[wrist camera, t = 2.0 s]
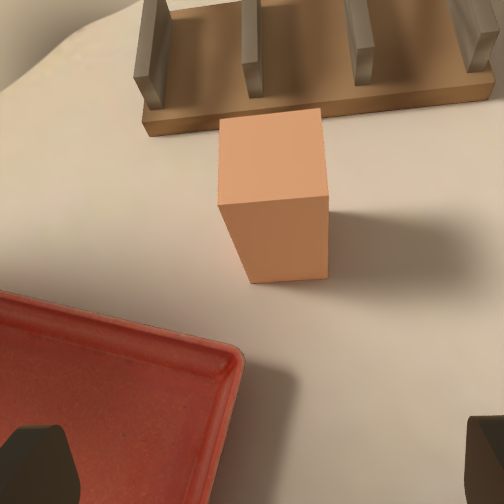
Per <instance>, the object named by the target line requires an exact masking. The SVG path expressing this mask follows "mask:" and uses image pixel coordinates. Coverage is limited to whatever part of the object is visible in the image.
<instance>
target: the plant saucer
mask: <svg viewBox="0 0 504 504" xmlns="http://www.w3.org/2000/svg"><path fill="white" fill-rule="evenodd" d="M244 368H245V357H244V354H243V353H242V352H241V351H240V349H239V348H238V347H235V346H233V345H230V344H226V343H222V342H217V341H213V340H208V339H204V338H199V337H195V336H192V335H187V334H183V333H178V332H174V331H170V330H166V329H161V328H157V327H153V326H150V325H144V324H140V323H136V322H131V321H127V320H123V319H119V318H115V317H110V316H106V315H102V314H99V313H94V312H89V311H85V310H82V309H76V308H73V307H69V306H64V305H59V304H56V303H52V302H48V301H43V300H39V299H35V298H31V297H27V296H23V295H17V294H14V293H11V292H6V291H1V290H0V448H1V446H2V445H3V444H4V443H5V442H6V440H7V439H8V438H9V437H10V436H11V434H12V433H13V432H14V431H15V430H16V429H17V428H19V427H20V426H24V425H60V426H61V427H62V428H63V430H64V432H65V434H66V437H67V441H68V444H69V447H70V450H71V453H72V457H73V460H74V463H75V466H76V469H77V473H78V476H79V479H80V485H81V493H80V501H79V504H208V503H209V498H210V495H211V491H212V488H213V484H214V480H215V476H216V472H217V469H218V465H219V461H220V457H221V454H222V450H223V446H224V443H225V439H226V435H227V431H228V427H229V424H230V420H231V416H232V412H233V409H234V405H235V401H236V398H237V394H238V390H239V387H240V383H241V379H242V375H243V371H244Z"/></svg>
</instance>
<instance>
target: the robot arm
mask: <svg viewBox="0 0 504 504" xmlns="http://www.w3.org/2000/svg"><path fill="white" fill-rule="evenodd" d="M464 487H465V495H466V500H467V504H504V415H495V416H470V417H469V419H468V422H467V436H466V454H465V472H464ZM80 493H81V485H80V479H79V476H78V473H77V469H76V466H75V463H74V460H73V457H72V453H71V450H70V447H69V444H68V441H67V437H66V434H65V432H64V430H63V428H62V427H61V426H60V425H24V426H20V427H19V428H17V429H16V430H15V431H14V432H13V433H12V434H11V436H10V437H9V438H8V439H7V440H6V442H5V443H4V444H3V445H2V446H1V448H0V504H79V501H80Z"/></svg>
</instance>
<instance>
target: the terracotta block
mask: <svg viewBox="0 0 504 504" xmlns="http://www.w3.org/2000/svg"><path fill="white" fill-rule="evenodd" d="M218 207H219V210H220V212H221V215H222V217H223V219H224V222H225V224H226V226H227V229H228V231H229V233H230V236H231V238H232V241H233V243H234V245H235V248H236V250H237V252H238V255H239V257H240V259H241V262H242V264H243V267H244V269H245V271H246V274H247V276H248V278H249V281H250V283H265V282H281V281H297V280H312V279H328V225H329V193H328V182H327V172H326V161H325V151H324V141H323V130H322V120H321V109H320V108H315V109H306V110H298V111H289V112H280V113H271V114H262V115H253V116H244V117H235V118H226V119H220V130H219V168H218Z"/></svg>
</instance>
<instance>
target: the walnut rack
mask: <svg viewBox="0 0 504 504" xmlns="http://www.w3.org/2000/svg"><path fill="white" fill-rule="evenodd" d="M499 31H500V30H499V27H498V24H497V21H496V19H495V16H494V13H493V10H492V7H491V4H490V1H489V0H242V1H237V2H230V3H223V4H216V5H210V6H203V7H196V8H189V9H182V10H175V11H169V9H168V6H167V3H166V0H144V4H143V11H142V18H141V26H140V33H139V40H138V47H137V55H136V62H135V69H134V77H133V78H134V80H135V82H136V84H137V86H138V88H139V90H140V92H141V94H142V96H143V98H144V108H143V116H142V124H143V126H144V128H145V129H146V131H147V133H148V135H149V137H150V136H159V135H168V134H177V133H186V132H195V131H204V130H214V129H220V119H226V118H235V117H244V116H253V115H262V114H271V113H280V112H289V111H298V110H306V109H315V108H320V109H321V118H323V117H332V116H342V115H351V114H360V113H369V112H378V111H387V110H397V109H406V108H415V107H424V106H433V105H442V104H451V103H461V102H470V101H479V100H488V98H489V96H490V93H491V91H492V89H493V87H494V84H495V79H494V76H493V73H492V70H491V67H490V63H489V60H488V58H489V56H490V54H491V51H492V49H493V46H494V44H495V41H496V39H497V36H498V34H499Z"/></svg>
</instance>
